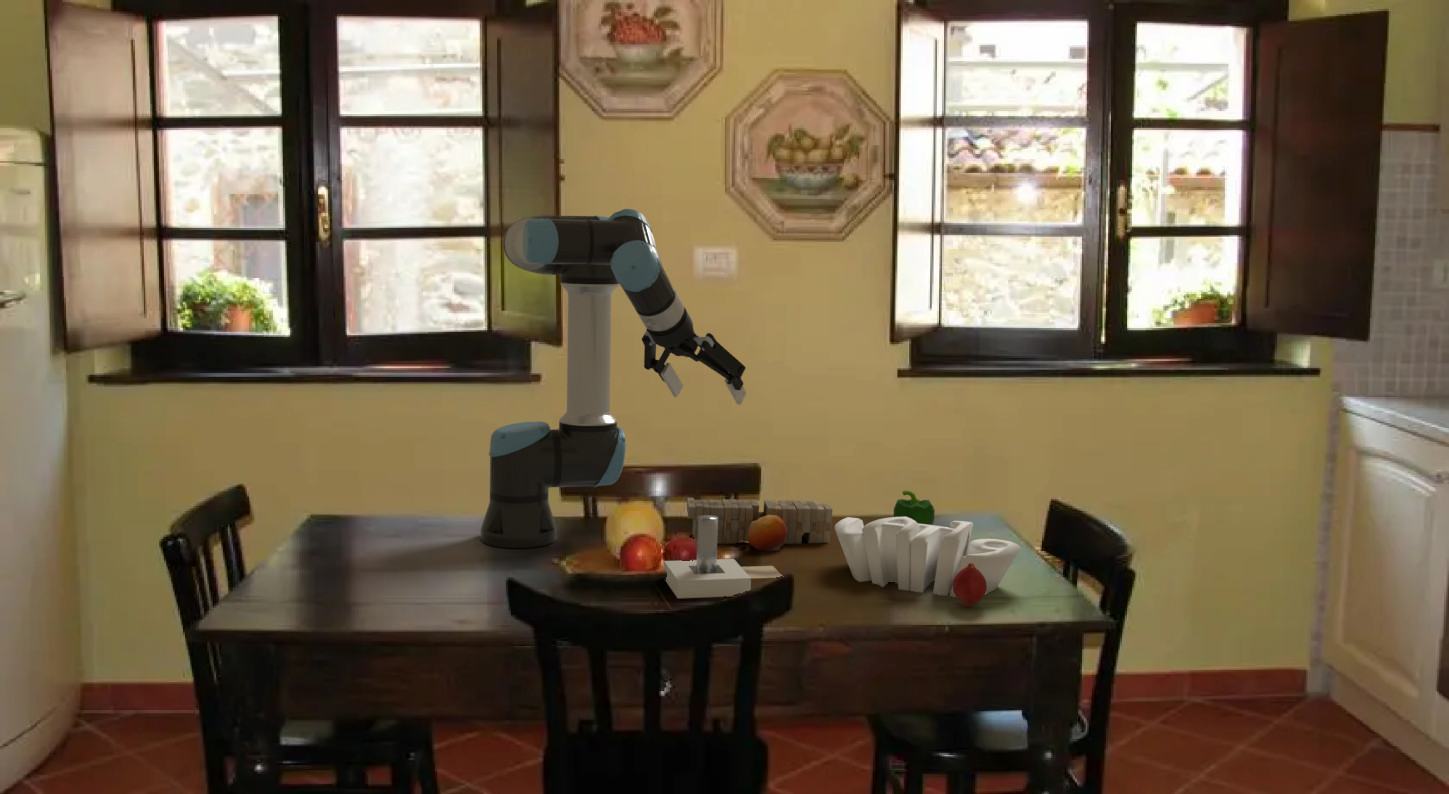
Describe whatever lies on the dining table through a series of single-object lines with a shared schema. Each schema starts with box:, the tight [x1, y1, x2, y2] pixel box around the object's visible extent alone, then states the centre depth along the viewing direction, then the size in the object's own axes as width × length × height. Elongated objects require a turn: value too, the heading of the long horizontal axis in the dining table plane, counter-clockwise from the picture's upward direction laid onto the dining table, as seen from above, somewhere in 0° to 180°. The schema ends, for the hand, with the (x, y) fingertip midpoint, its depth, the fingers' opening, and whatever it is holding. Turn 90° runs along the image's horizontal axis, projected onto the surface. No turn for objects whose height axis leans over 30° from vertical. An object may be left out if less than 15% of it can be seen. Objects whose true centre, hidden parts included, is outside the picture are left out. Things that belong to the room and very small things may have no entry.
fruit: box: [747, 515, 787, 552], centre depth 277 cm, size 8×8×8 cm
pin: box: [696, 515, 718, 574], centre depth 247 cm, size 4×4×13 cm
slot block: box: [663, 558, 752, 599], centre depth 248 cm, size 13×13×4 cm
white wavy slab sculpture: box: [834, 516, 1022, 598], centre depth 257 cm, size 35×16×11 cm, turn 64°
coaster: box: [741, 565, 783, 580], centre depth 258 cm, size 8×8×1 cm
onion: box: [953, 563, 987, 608], centre depth 241 cm, size 6×6×8 cm
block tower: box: [686, 497, 833, 545], centre depth 284 cm, size 8×8×29 cm
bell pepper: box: [893, 490, 936, 525], centre depth 289 cm, size 8×8×10 cm
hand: (709, 395), depth 252 cm, fingers open, 13 cm apart
